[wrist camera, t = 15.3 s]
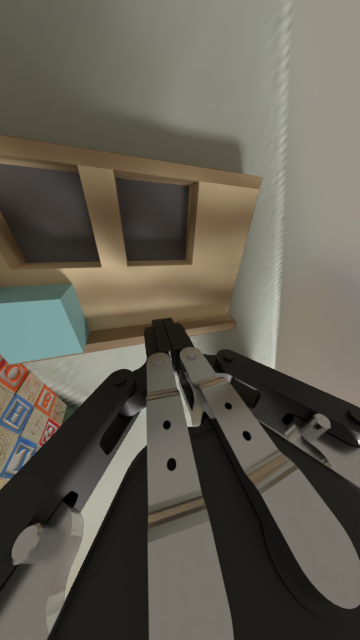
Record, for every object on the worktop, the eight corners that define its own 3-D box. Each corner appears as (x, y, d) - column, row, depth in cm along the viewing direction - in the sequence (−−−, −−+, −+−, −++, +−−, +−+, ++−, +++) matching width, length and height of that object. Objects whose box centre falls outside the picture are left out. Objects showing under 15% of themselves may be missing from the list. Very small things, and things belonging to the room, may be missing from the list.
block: (90, 331, 15) (83, 352, 13) (29, 339, 14) (9, 364, 11) (72, 283, 12) (59, 299, 10) (-5, 287, 11) (-42, 306, 9)
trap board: (216, 310, 22) (234, 328, 18) (35, 332, 16) (9, 365, 12) (243, 183, 14) (283, 170, 10) (-90, 135, 8) (-254, 72, 5)
